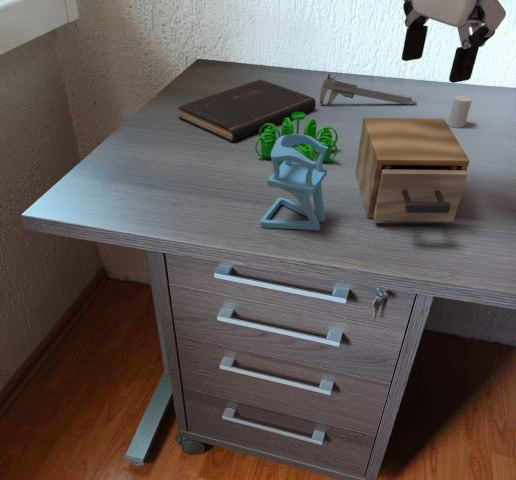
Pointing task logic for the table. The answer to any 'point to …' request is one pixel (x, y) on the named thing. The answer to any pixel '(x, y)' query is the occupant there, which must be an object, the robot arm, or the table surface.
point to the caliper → (358, 92)
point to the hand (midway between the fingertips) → (434, 69)
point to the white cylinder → (459, 111)
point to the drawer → (419, 193)
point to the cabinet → (403, 150)
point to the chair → (297, 183)
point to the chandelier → (287, 129)
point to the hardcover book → (245, 109)
